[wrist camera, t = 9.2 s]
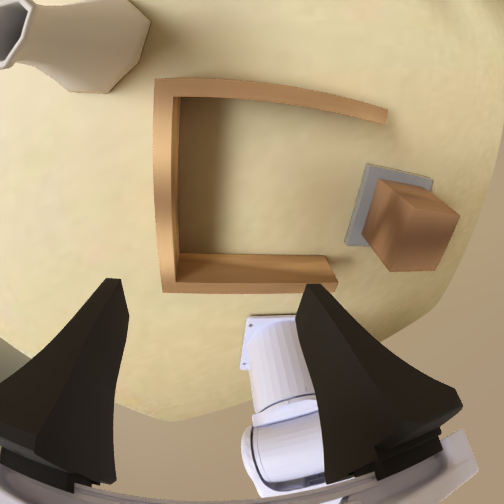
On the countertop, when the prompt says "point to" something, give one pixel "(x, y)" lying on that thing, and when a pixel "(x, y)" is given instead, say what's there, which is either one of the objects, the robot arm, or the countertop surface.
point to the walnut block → (408, 226)
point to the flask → (74, 41)
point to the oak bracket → (166, 195)
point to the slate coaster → (368, 191)
